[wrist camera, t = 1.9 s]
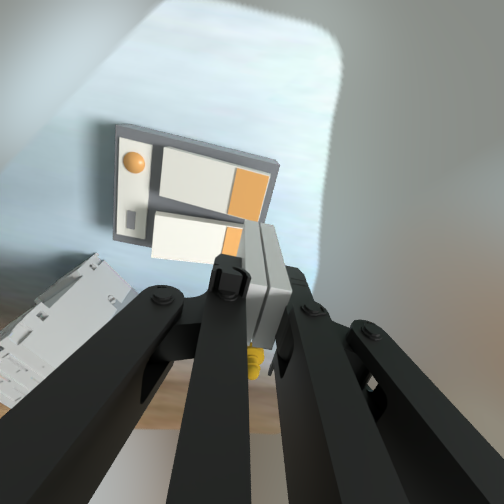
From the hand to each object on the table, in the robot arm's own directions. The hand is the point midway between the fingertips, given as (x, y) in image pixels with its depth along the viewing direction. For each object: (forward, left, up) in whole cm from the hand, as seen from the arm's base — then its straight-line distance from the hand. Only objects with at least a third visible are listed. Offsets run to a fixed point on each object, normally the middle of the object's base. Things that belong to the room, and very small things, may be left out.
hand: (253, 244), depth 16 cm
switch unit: (-6, -3, -18) cm, 19 cm away
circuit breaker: (-15, -21, -19) cm, 32 cm away
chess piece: (+6, -26, -19) cm, 33 cm away
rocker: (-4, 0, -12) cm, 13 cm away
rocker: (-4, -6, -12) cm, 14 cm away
